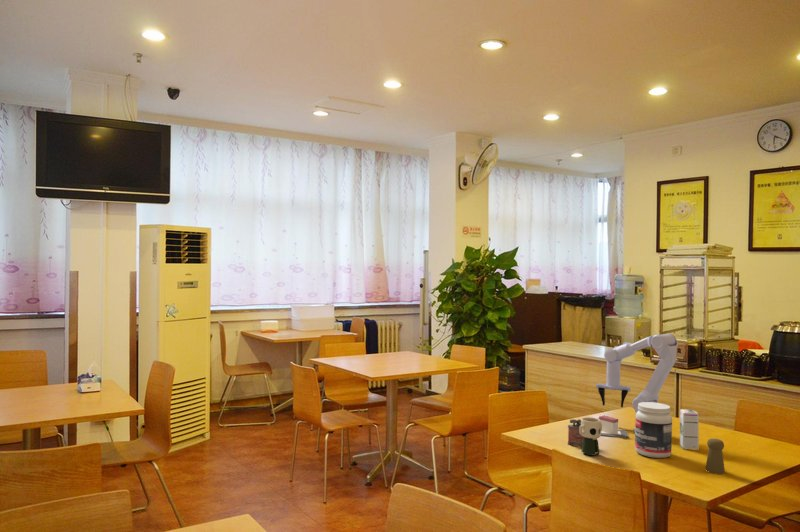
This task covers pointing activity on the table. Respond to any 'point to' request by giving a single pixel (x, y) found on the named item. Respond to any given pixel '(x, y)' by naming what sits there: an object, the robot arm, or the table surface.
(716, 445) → the grey pepper shaker
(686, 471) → the table surface
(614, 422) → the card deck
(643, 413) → the supplement tub
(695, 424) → the syrup box
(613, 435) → the mat
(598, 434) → the character mug
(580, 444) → the lighter
